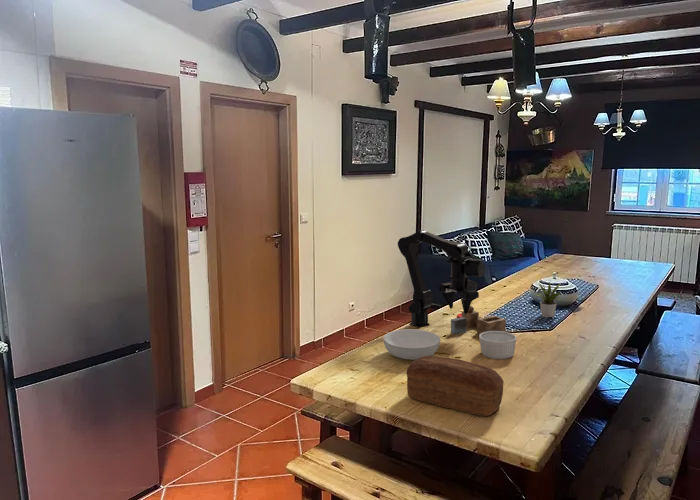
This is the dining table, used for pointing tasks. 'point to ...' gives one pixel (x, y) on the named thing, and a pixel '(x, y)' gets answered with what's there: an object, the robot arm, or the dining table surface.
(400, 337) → the serving bowl
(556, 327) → the dining table surface
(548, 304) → the house plant
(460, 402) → the bread
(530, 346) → the dining table surface
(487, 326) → the wooden hollow frame
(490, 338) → the ramekin
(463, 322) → the tall grey upright block
